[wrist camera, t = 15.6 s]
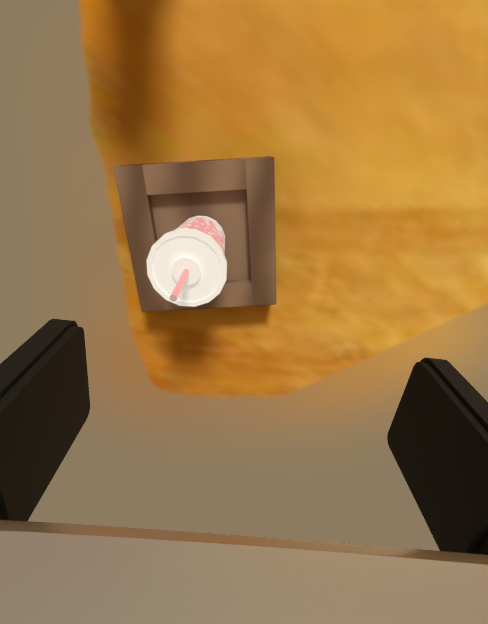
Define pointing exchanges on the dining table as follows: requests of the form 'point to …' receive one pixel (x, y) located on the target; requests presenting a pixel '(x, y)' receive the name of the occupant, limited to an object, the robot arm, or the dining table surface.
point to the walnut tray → (215, 204)
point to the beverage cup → (189, 262)
